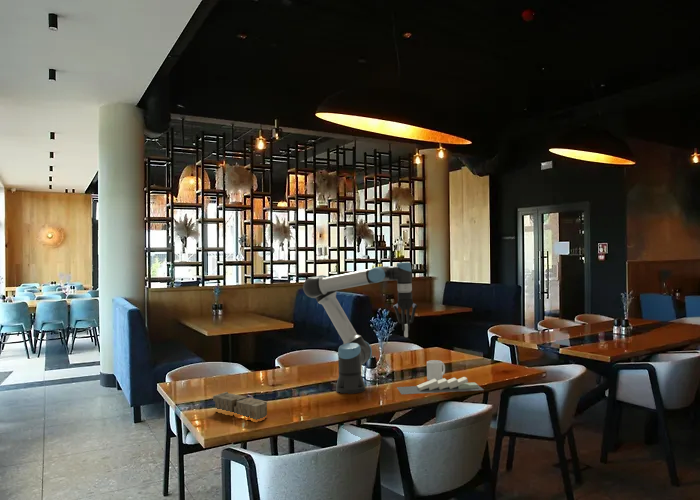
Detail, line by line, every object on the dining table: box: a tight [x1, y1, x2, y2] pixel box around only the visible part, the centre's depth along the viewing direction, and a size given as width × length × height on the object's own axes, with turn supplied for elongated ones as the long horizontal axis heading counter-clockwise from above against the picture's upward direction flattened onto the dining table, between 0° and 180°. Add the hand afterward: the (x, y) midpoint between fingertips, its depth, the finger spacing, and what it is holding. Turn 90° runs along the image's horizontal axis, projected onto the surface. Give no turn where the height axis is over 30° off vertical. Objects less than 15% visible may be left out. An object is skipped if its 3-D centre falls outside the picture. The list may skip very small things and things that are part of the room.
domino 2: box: [428, 377, 448, 390], centre depth 273 cm, size 2×5×10 cm
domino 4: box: [448, 376, 469, 389], centre depth 274 cm, size 2×5×10 cm
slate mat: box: [396, 385, 485, 395], centre depth 273 cm, size 42×14×1 cm, turn 95°
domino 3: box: [438, 377, 458, 390], centre depth 273 cm, size 2×5×10 cm
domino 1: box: [416, 379, 438, 391], centre depth 272 cm, size 2×5×10 cm
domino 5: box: [457, 382, 479, 389], centre depth 274 cm, size 2×5×10 cm
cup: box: [426, 359, 446, 381], centre depth 294 cm, size 8×12×10 cm
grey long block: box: [212, 391, 268, 420], centre depth 240 cm, size 8×8×29 cm
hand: (406, 336), depth 280 cm, fingers closed
